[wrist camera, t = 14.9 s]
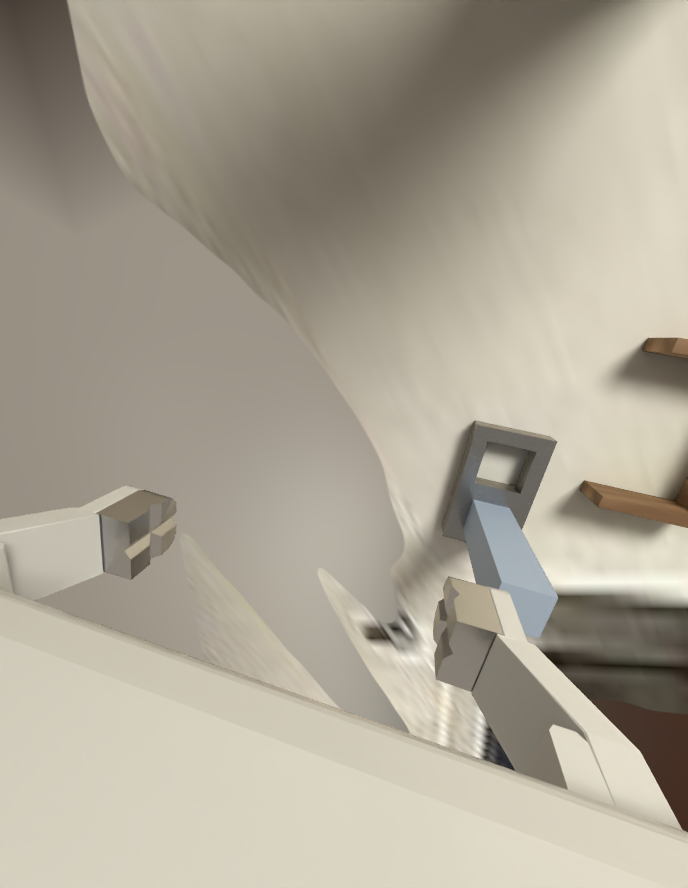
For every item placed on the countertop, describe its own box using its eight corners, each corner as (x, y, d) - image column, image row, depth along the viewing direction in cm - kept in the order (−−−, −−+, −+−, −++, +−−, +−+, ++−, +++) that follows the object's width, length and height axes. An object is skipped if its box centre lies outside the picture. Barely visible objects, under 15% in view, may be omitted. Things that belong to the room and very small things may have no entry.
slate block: (473, 499, 38) (501, 582, 25) (509, 508, 38) (558, 597, 25) (463, 529, 40) (485, 622, 26) (498, 538, 39) (538, 638, 26)
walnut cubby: (648, 338, 32) (678, 337, 28) (770, 358, 31) (819, 360, 27) (580, 490, 37) (598, 506, 34) (681, 513, 36) (712, 533, 32)
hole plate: (474, 420, 38) (477, 424, 36) (549, 436, 36) (557, 441, 35) (441, 527, 42) (442, 535, 40) (507, 544, 41) (512, 553, 39)
